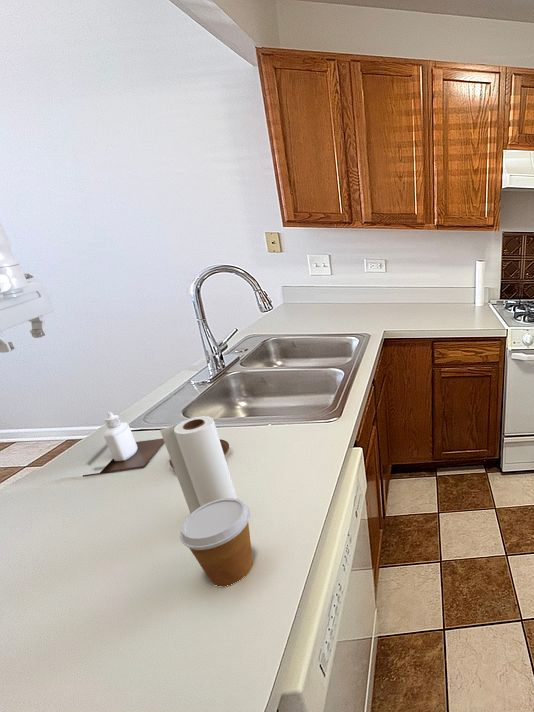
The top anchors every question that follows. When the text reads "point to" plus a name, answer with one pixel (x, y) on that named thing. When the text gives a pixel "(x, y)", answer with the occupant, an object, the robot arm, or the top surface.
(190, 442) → the paper towel roll
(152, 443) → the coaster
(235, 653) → the top surface
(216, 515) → the disposable coffee cup
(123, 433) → the eye dropper bottle
